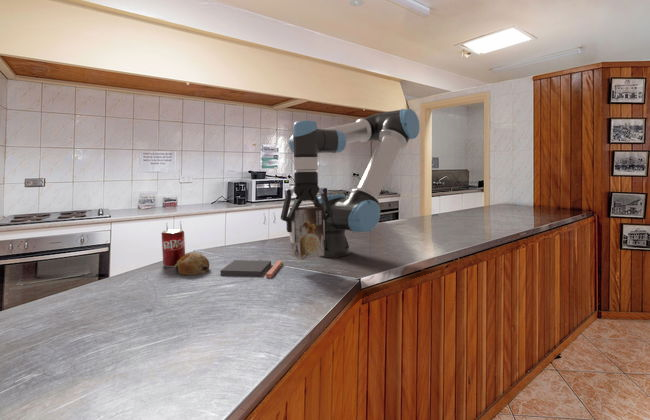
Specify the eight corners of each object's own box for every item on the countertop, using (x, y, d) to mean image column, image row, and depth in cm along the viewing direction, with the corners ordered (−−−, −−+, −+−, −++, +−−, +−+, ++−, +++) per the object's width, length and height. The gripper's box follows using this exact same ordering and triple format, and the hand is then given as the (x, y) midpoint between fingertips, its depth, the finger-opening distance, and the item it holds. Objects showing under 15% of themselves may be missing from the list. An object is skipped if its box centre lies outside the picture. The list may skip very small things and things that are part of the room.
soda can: (163, 263, 125) (162, 230, 124) (185, 261, 128) (184, 228, 127) (162, 268, 119) (160, 233, 117) (185, 266, 121) (183, 232, 120)
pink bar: (282, 264, 124) (282, 260, 124) (271, 277, 108) (271, 274, 108) (277, 264, 124) (277, 260, 124) (266, 277, 108) (266, 273, 108)
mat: (271, 265, 123) (271, 260, 123) (260, 276, 110) (260, 271, 110) (234, 264, 124) (234, 260, 124) (220, 275, 111) (220, 270, 111)
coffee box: (314, 252, 120) (313, 205, 118) (324, 256, 115) (324, 207, 113) (290, 256, 115) (289, 207, 113) (300, 260, 110) (299, 209, 108)
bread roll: (193, 287, 110) (202, 265, 109) (166, 272, 112) (174, 250, 110) (209, 278, 120) (218, 258, 119) (184, 264, 121) (192, 244, 120)
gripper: (332, 170, 120) (333, 235, 122) (268, 171, 110) (270, 241, 113) (342, 170, 113) (343, 239, 116) (275, 171, 104) (277, 246, 106)
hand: (307, 240), depth 114 cm, fingers closed on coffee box, 10 cm apart
